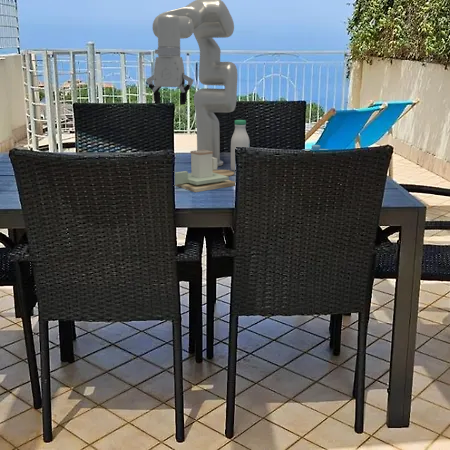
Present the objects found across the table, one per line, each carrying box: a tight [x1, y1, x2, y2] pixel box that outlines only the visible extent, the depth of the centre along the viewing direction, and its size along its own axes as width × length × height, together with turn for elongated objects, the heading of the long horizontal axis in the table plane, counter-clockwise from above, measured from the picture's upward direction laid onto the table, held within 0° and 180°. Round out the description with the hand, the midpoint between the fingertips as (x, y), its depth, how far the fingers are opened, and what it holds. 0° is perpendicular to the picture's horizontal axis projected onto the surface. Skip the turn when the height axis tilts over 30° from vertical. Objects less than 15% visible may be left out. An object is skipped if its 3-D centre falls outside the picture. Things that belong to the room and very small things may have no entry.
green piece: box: [174, 170, 230, 185], centre depth 220 cm, size 14×22×5 cm, turn 126°
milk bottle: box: [230, 119, 251, 172], centre depth 247 cm, size 8×8×20 cm
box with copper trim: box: [190, 149, 218, 178], centre depth 222 cm, size 6×8×9 cm
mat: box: [213, 169, 235, 177], centre depth 242 cm, size 12×12×1 cm
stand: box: [175, 179, 236, 193], centre depth 223 cm, size 18×18×2 cm
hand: (170, 104), depth 214 cm, fingers open, 9 cm apart
